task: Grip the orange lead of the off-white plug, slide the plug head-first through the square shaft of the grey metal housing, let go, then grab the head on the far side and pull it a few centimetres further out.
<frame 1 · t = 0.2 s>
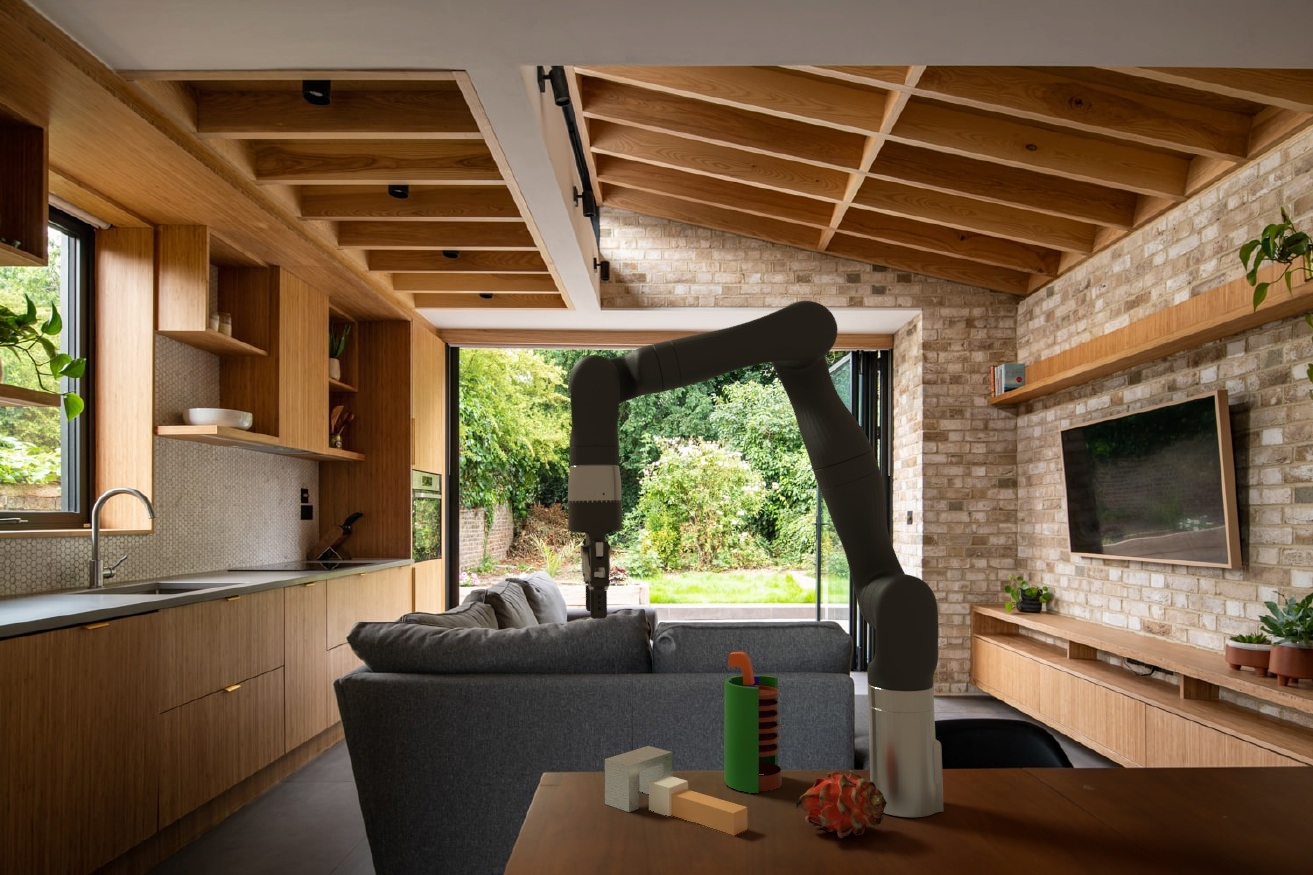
hand: (596, 614, 119), 28 cm above the table, tool pointing down, fingers open, 8 cm apart
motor: (753, 784, 133), on the table
housing: (639, 799, 126), on the table
plug: (668, 809, 122), on the table
dragon fruit: (841, 834, 113), on the table
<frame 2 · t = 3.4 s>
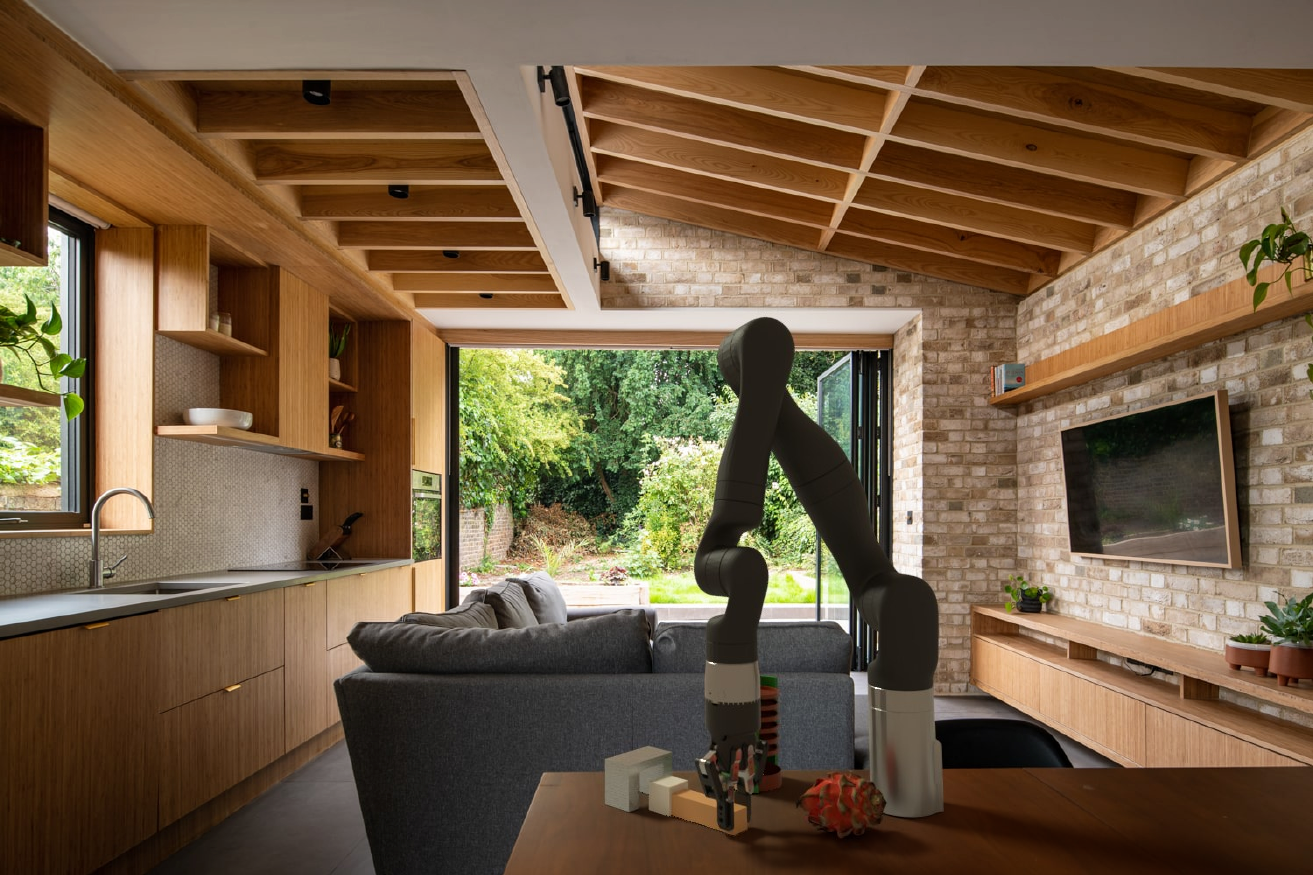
hand: (734, 824, 114), 1 cm above the table, tool pointing down, fingers closed on plug, 3 cm apart
plug: (668, 809, 122), on the table, touching gripper
everything else where it was.
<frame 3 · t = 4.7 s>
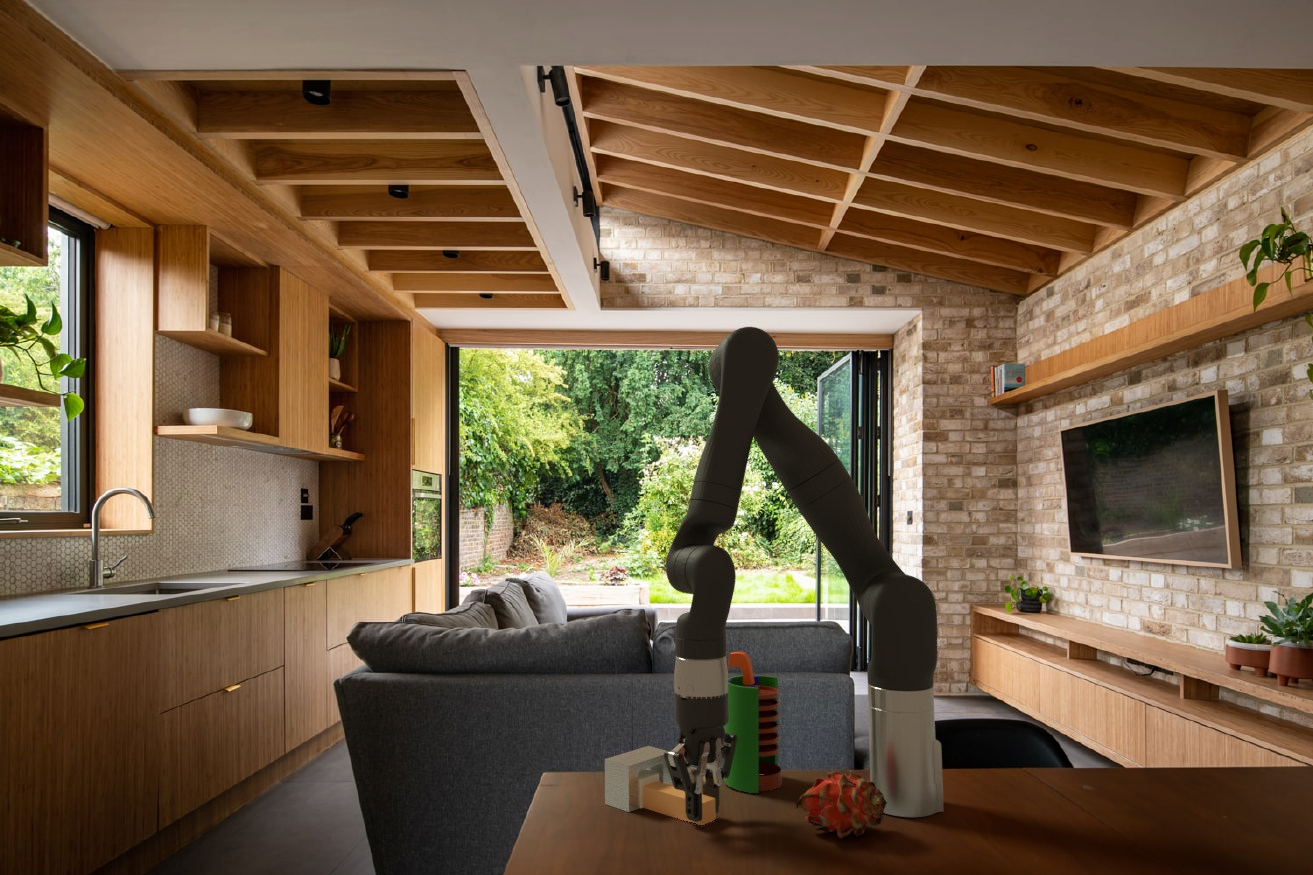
hand: (702, 815, 117), 1 cm above the table, tool pointing down, fingers closed on plug, 3 cm apart
plug: (640, 801, 125), on the table, touching gripper
everything else where it was.
when the fingers open (1 cm above the table, at t = 6.2 s): plug stays where it is, on the table.
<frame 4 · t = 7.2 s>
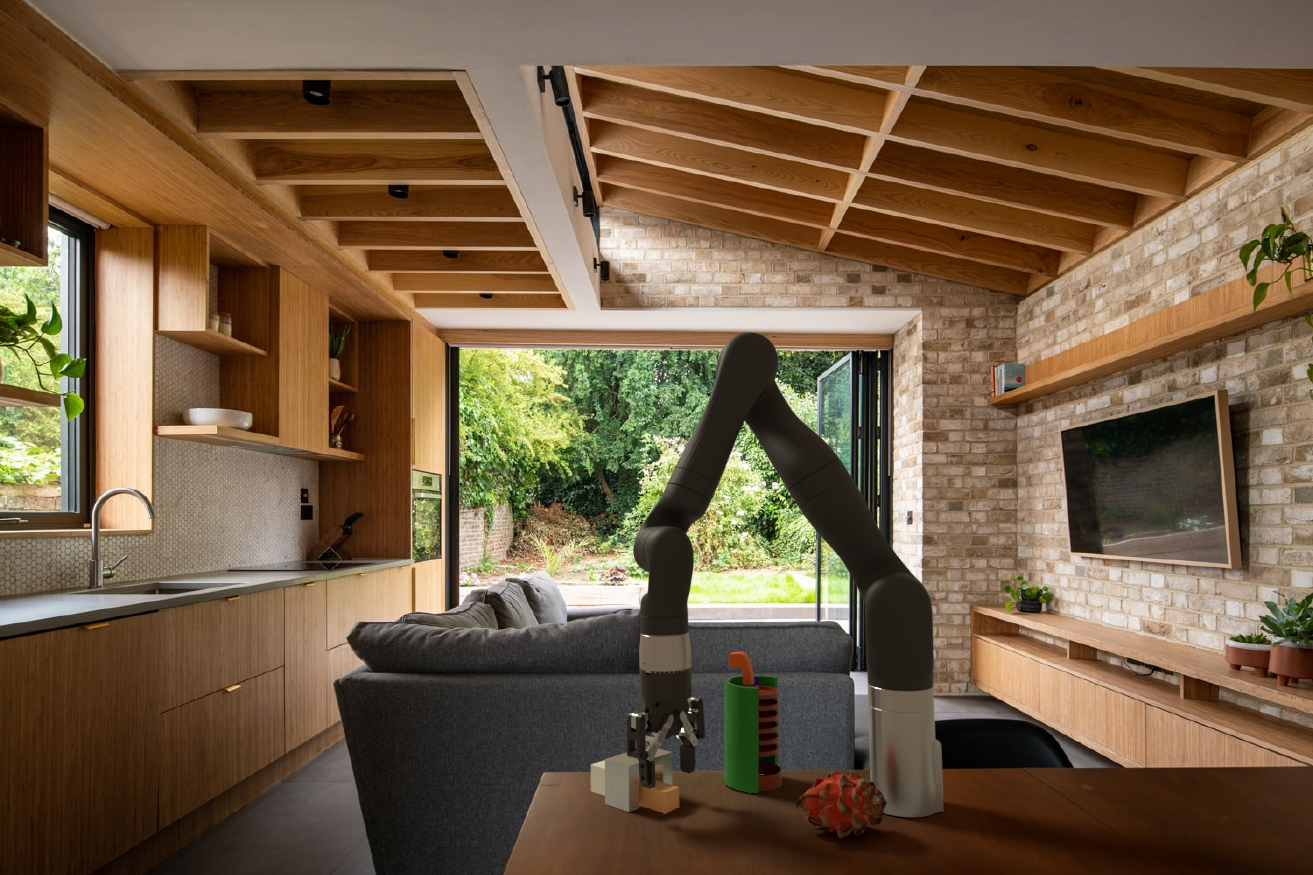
hand: (668, 779, 122), 4 cm above the table, tool pointing down, fingers open, 8 cm apart
plug: (609, 790, 131), on the table
everything else where it was.
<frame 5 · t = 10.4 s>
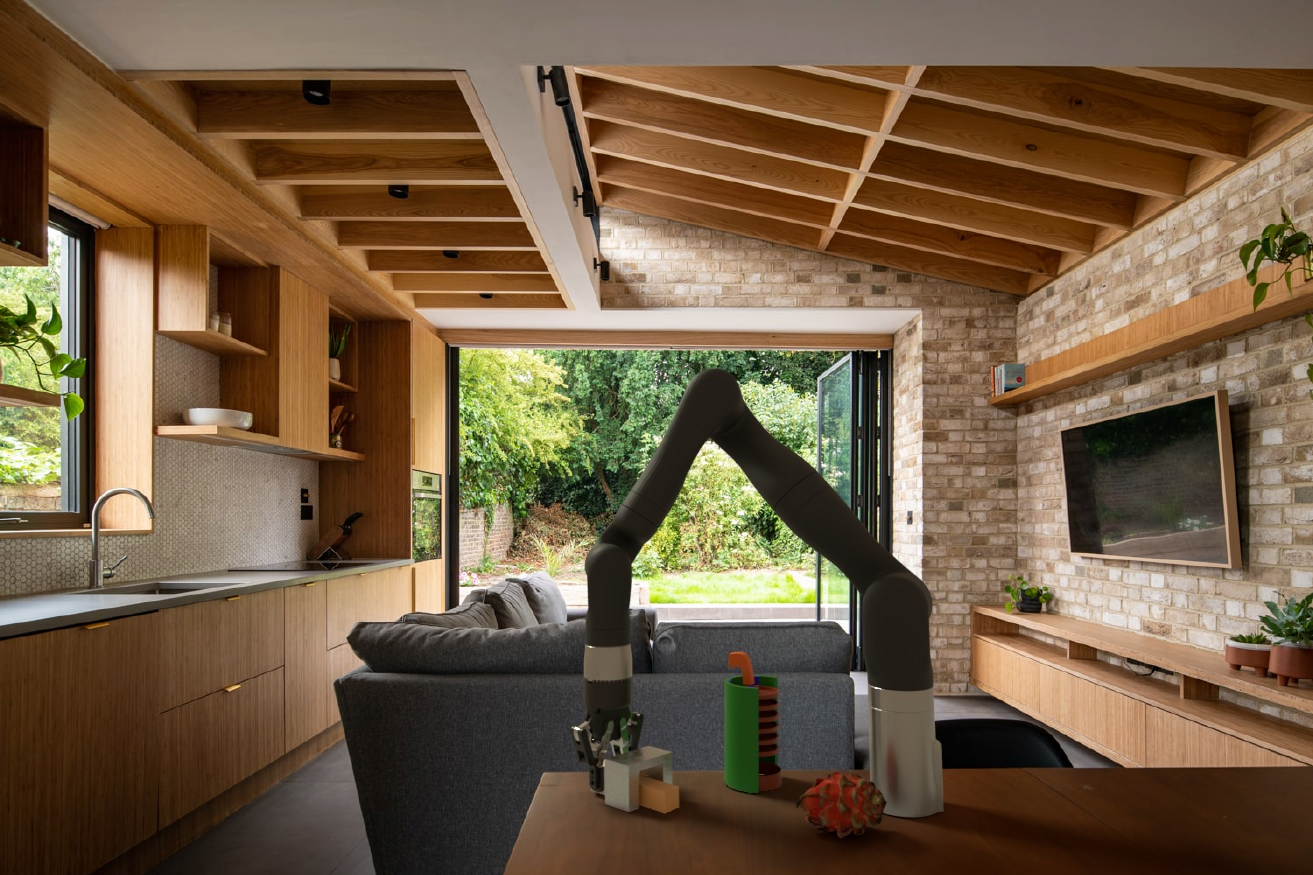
hand: (608, 786, 131), 0 cm above the table, tool pointing down, fingers closed on plug, 4 cm apart
plug: (609, 790, 131), on the table, touching gripper
everything else where it was.
when the fingers open (1 cm above the table, at t = 11.7 s): plug stays where it is, on the table.
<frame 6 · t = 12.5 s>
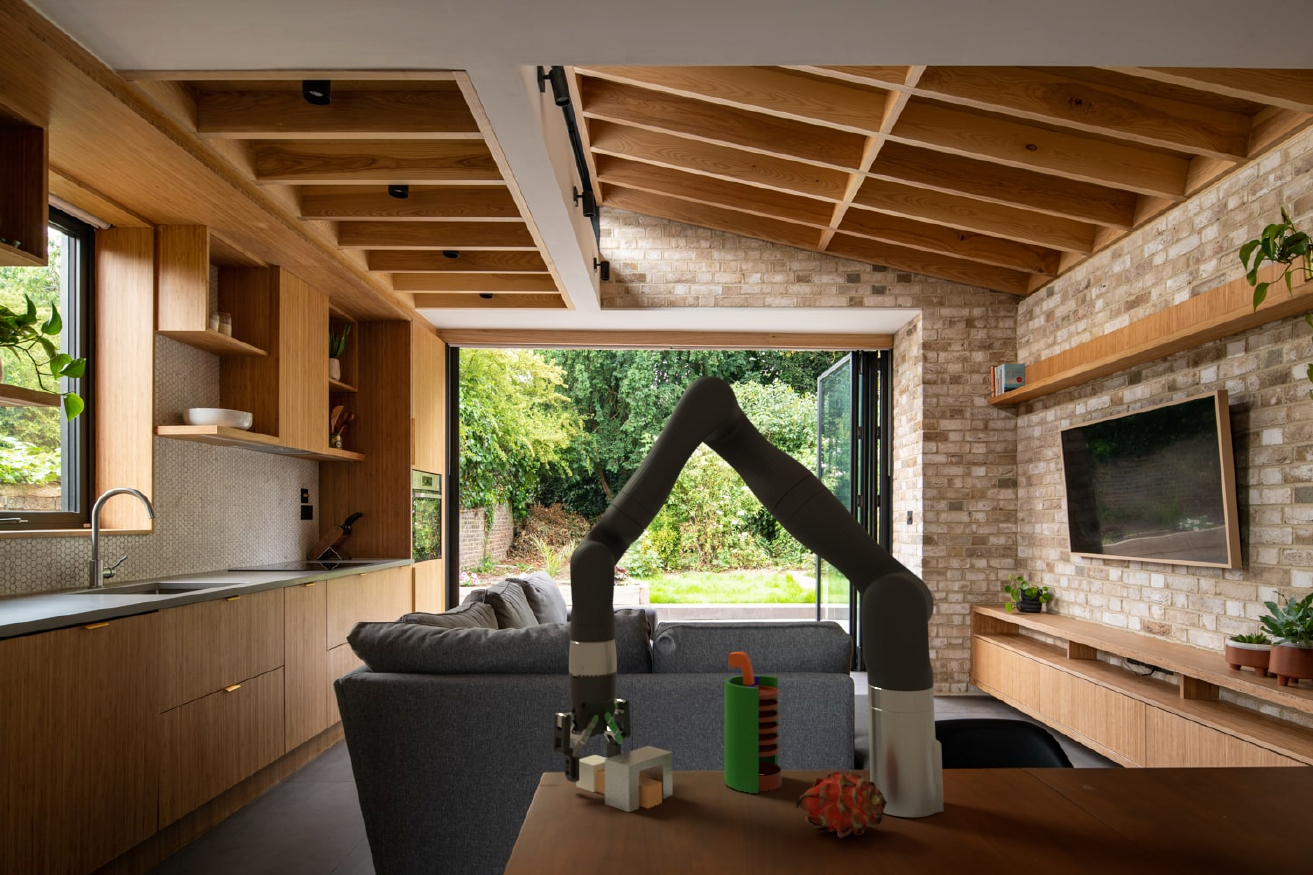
hand: (593, 774, 133), 2 cm above the table, tool pointing down, fingers open, 8 cm apart
plug: (594, 786, 133), on the table
everything else where it was.
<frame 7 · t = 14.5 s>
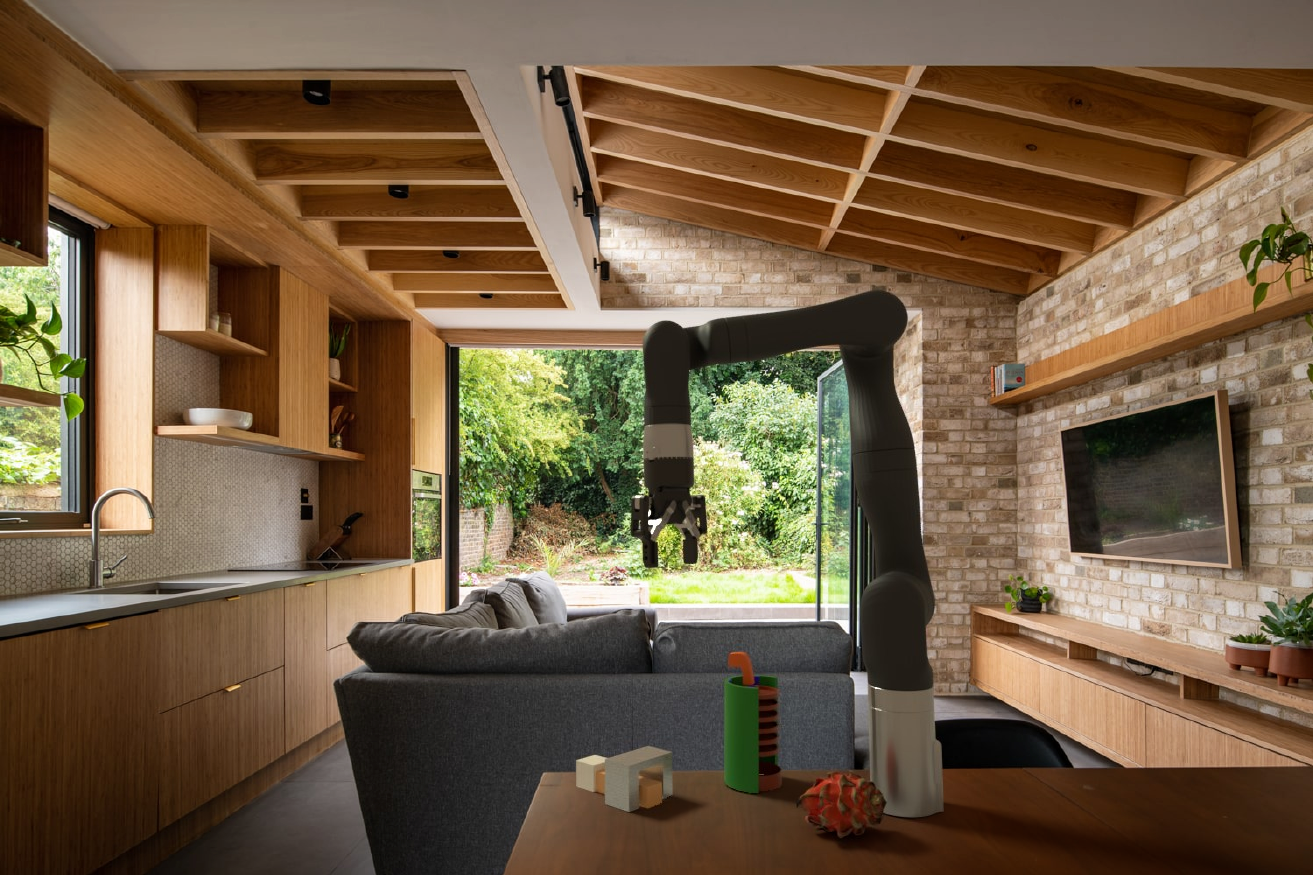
hand: (671, 565, 126), 35 cm above the table, tool pointing down, fingers open, 8 cm apart
nothing on the table moved.
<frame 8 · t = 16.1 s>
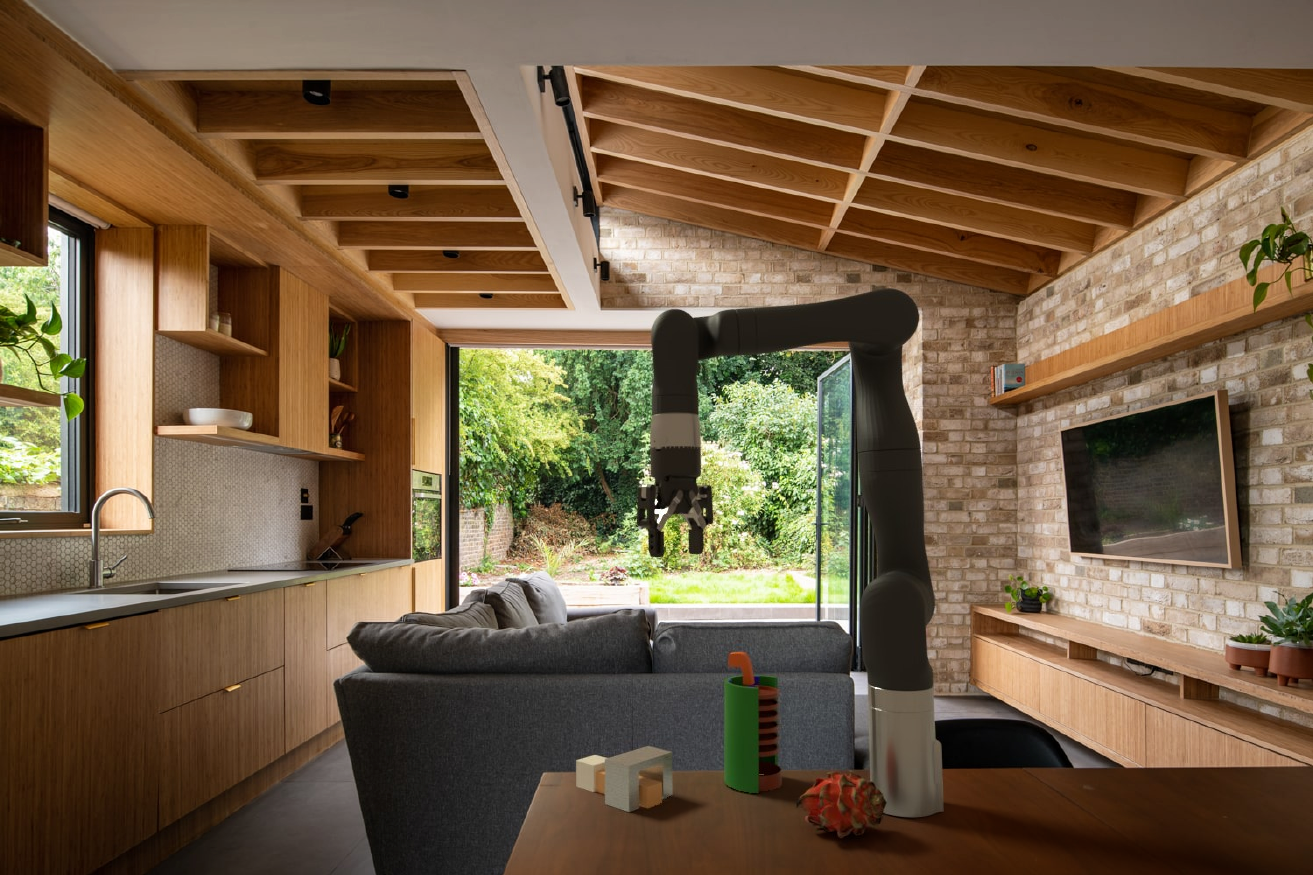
hand: (676, 555, 125), 36 cm above the table, tool pointing down, fingers open, 8 cm apart
nothing on the table moved.
at the end: plug 1.9 cm from the target spot on the table beside the housing, on the table; the gripper is holding nothing; plug on the table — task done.
